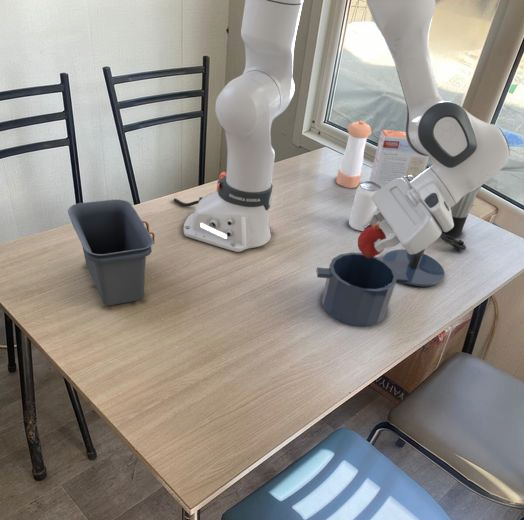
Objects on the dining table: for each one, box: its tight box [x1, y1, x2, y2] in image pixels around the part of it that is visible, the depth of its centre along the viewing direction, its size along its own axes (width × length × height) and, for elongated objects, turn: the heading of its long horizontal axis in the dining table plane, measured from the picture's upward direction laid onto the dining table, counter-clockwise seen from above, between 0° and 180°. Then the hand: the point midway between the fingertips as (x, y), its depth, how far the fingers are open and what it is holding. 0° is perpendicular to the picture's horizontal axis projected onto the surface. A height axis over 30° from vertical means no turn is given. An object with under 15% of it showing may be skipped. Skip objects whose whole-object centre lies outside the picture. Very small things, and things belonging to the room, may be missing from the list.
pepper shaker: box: [335, 120, 372, 189], centre depth 163 cm, size 7×7×19 cm
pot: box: [315, 251, 408, 327], centre depth 117 cm, size 14×20×10 cm
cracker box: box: [368, 129, 430, 188], centre depth 154 cm, size 14×6×21 cm, turn 92°
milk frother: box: [439, 186, 482, 251], centre depth 145 cm, size 14×16×15 cm
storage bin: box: [67, 199, 155, 307], centre depth 113 cm, size 21×16×14 cm
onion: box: [357, 223, 387, 259], centre depth 110 cm, size 6×6×8 cm
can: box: [348, 180, 381, 232], centre depth 145 cm, size 6×6×12 cm
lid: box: [382, 248, 445, 287], centre depth 133 cm, size 16×16×7 cm
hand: (369, 239), depth 109 cm, fingers closed on onion, 6 cm apart
